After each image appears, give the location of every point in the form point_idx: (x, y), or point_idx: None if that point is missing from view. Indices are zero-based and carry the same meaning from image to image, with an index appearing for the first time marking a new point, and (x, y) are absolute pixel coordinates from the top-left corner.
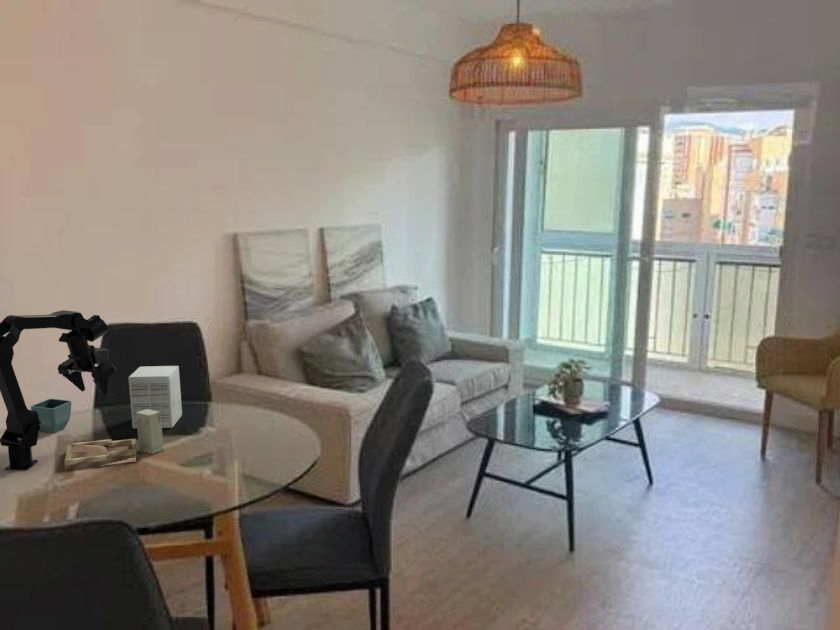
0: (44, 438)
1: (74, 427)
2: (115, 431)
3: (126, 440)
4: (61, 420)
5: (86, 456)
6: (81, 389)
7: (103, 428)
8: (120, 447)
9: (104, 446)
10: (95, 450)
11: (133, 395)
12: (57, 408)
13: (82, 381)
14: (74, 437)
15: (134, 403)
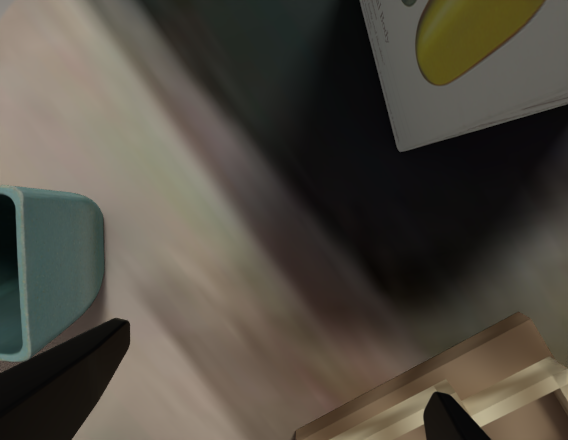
0: None
1: (135, 195)
2: (340, 201)
3: (535, 397)
4: (88, 262)
5: None
6: (112, 376)
7: (264, 178)
8: (509, 413)
9: None
10: None
11: (535, 105)
12: (35, 320)
13: (31, 407)
14: (216, 300)
15: (490, 122)
